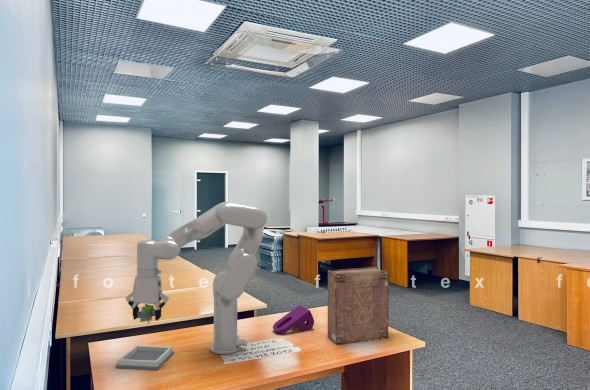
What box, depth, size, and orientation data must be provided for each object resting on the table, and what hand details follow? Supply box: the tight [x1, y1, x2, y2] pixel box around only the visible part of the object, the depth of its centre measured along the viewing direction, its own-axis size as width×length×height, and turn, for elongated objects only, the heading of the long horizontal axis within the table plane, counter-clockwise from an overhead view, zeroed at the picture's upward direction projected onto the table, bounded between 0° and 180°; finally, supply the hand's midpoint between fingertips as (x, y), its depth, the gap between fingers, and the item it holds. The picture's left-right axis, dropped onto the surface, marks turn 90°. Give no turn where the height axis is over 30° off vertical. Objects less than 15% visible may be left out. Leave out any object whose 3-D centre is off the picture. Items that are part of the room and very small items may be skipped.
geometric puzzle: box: [137, 303, 156, 325], centre depth 154 cm, size 7×7×8 cm
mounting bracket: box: [272, 304, 315, 335], centre depth 189 cm, size 9×8×18 cm
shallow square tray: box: [115, 344, 175, 371], centre depth 154 cm, size 16×15×3 cm
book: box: [327, 266, 390, 345], centre depth 179 cm, size 25×9×30 cm, turn 108°
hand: (146, 318), depth 154 cm, fingers closed on geometric puzzle, 7 cm apart
